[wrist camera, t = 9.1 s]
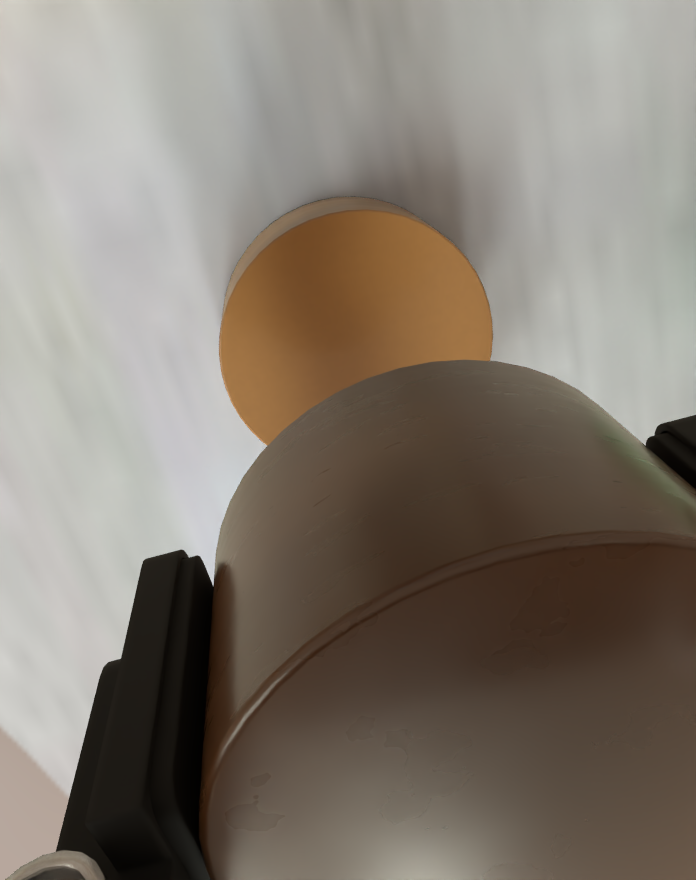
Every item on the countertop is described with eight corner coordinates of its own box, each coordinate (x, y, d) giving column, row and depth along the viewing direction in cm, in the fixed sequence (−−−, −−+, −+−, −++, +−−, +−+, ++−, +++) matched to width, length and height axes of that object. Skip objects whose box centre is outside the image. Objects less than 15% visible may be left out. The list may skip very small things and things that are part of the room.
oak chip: (449, 167, 19) (475, 176, 16) (481, 404, 22) (506, 438, 20) (187, 232, 19) (179, 251, 16) (262, 460, 22) (263, 500, 20)
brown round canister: (642, 302, 9) (919, 443, 5) (643, 657, 12) (814, 896, 8) (147, 429, 8) (78, 666, 5) (282, 754, 12) (297, 1041, 8)
